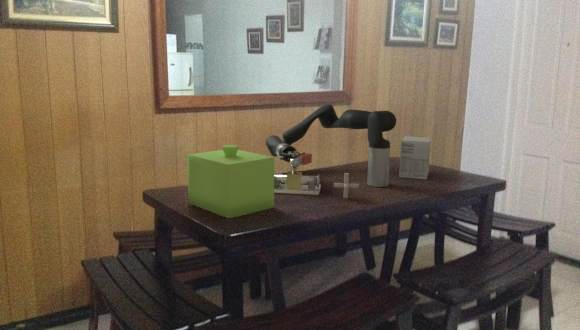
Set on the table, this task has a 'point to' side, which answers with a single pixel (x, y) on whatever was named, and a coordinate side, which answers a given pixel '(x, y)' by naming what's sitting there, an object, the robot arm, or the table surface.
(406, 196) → the table surface
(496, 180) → the table surface
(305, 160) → the valve lever
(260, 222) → the table surface
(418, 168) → the supplement box
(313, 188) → the valve fixture
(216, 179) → the canister
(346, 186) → the pipe connector
